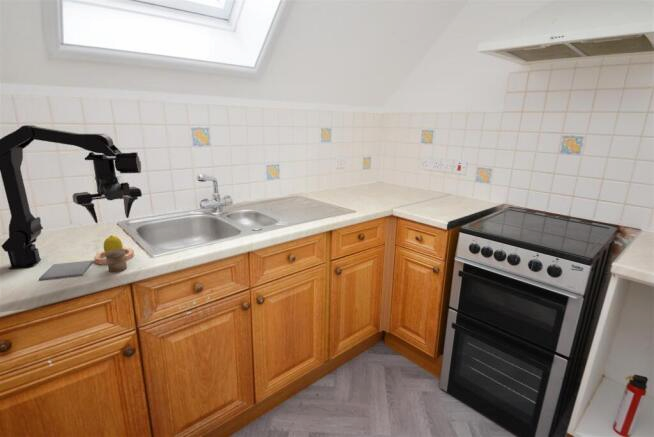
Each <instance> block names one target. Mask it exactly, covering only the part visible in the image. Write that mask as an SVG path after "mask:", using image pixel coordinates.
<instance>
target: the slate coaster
mask: <svg viewBox="0 0 654 437" xmlns="http://www.w3.org/2000/svg"><path fill="white" fill-rule="evenodd" d="M93 263H94V260H93V259H92V260H91V259H90V260H83V261H82V260H81V261H70V262H62V263H61V262H60V263H53V264H52V265H51V266H50V267H49V268H48V269H47V270H46V271H45V272H44V273H42V275H41V276H40V277H39V278H38V280H39V281H45V280H53V279H54V280H55V279H64V278H71V277H80V276H85V273H86V272H87V271H88V269H89V268H90V267H91V266H92V264H93Z"/></svg>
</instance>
